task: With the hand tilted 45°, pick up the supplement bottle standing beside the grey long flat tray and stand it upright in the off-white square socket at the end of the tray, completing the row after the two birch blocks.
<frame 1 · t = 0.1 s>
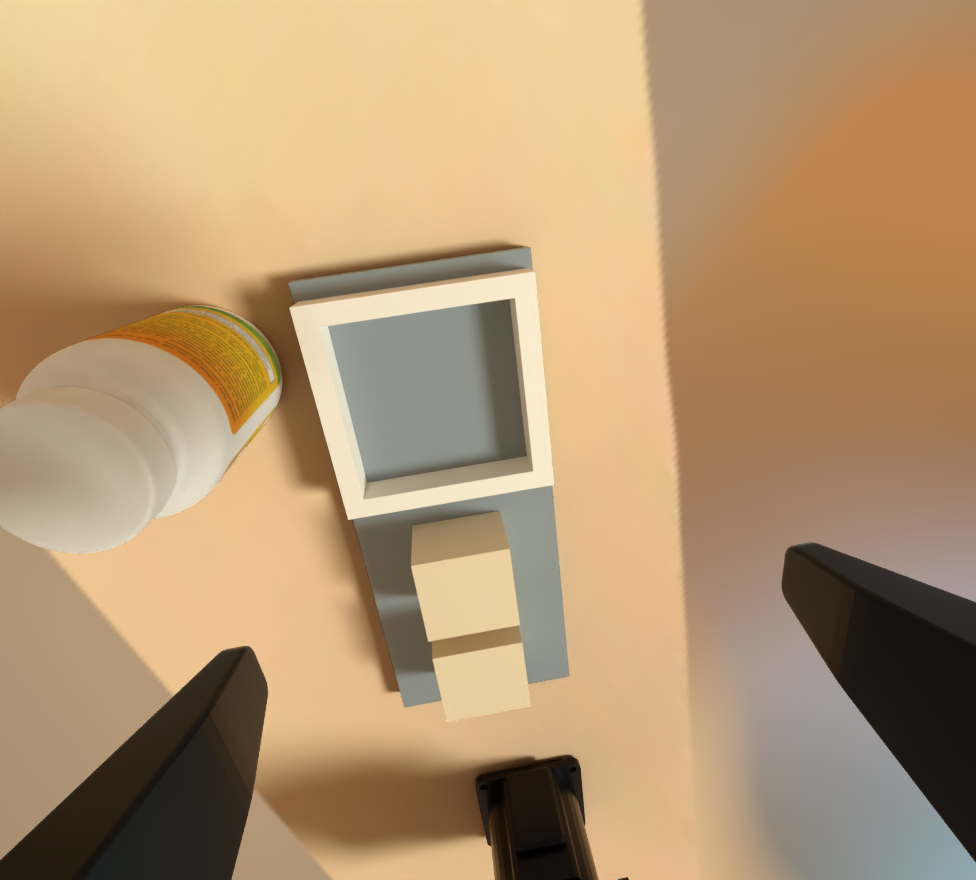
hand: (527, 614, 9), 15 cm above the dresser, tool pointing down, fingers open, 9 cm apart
supplement bottle: (217, 370, 21), on the dresser
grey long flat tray: (455, 507, 24), on the dresser
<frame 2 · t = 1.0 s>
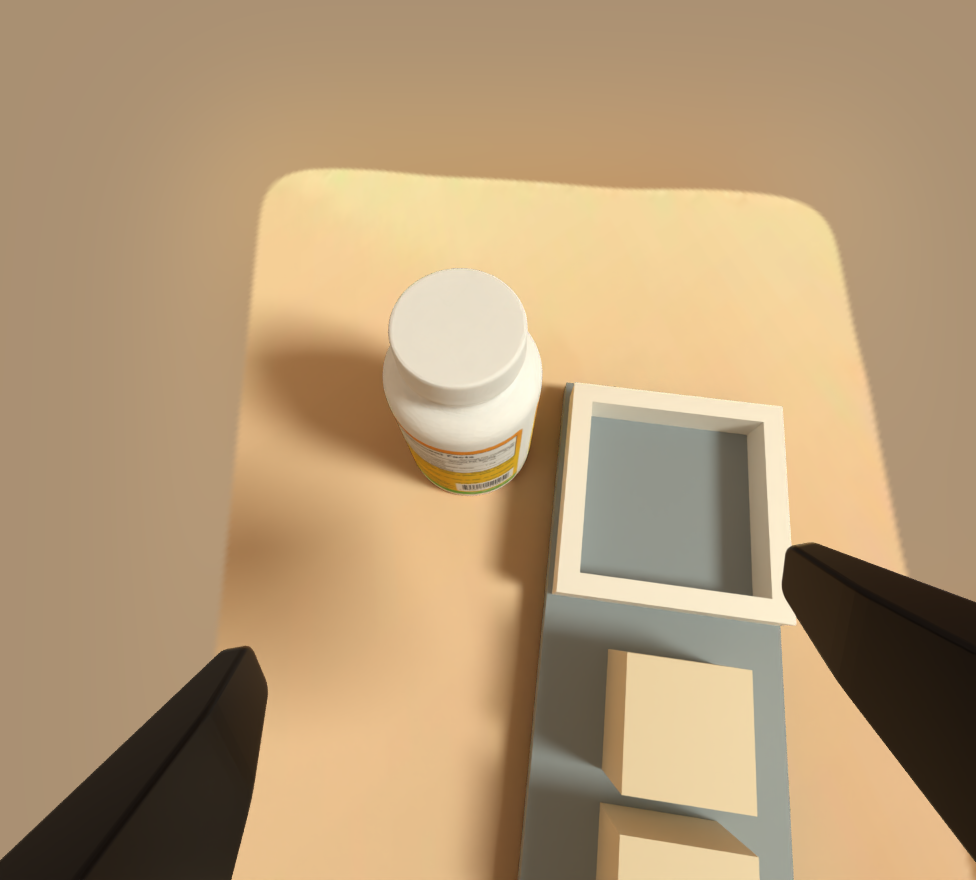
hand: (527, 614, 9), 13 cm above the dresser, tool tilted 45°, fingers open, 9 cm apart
supplement bottle: (471, 442, 24), on the dresser
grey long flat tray: (653, 655, 21), on the dresser
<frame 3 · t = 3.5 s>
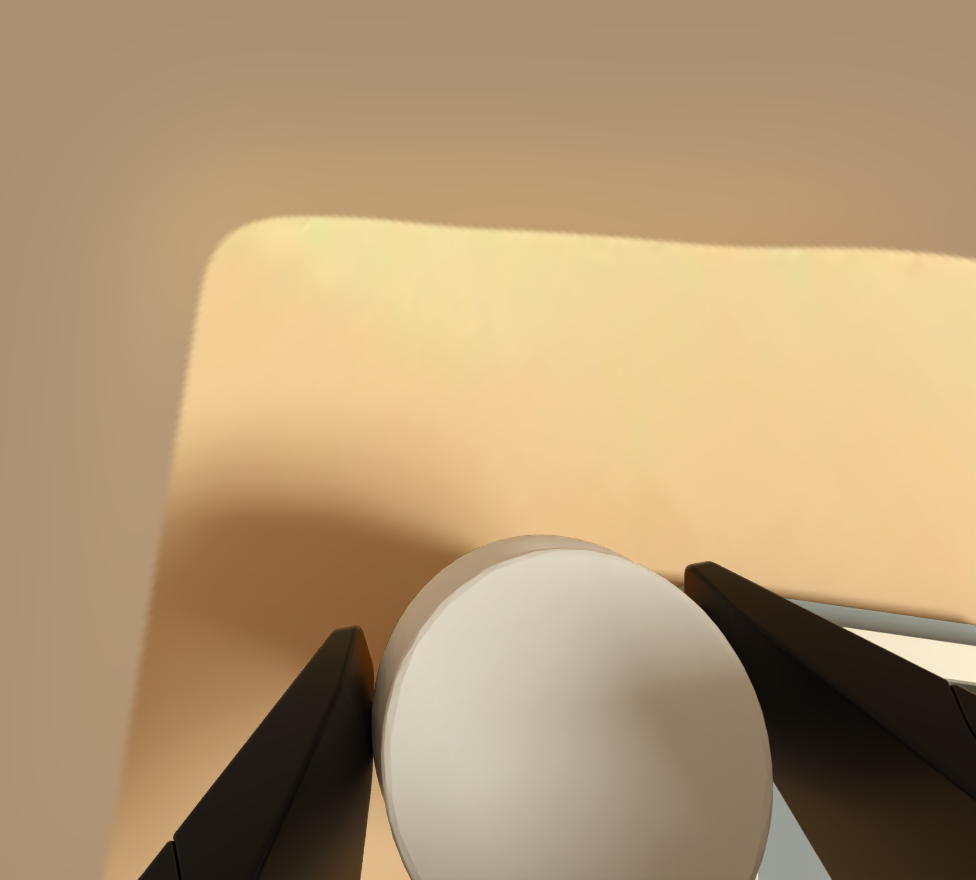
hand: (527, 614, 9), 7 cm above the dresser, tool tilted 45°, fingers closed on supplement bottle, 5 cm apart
supplement bottle: (523, 677, 14), on the dresser, touching gripper
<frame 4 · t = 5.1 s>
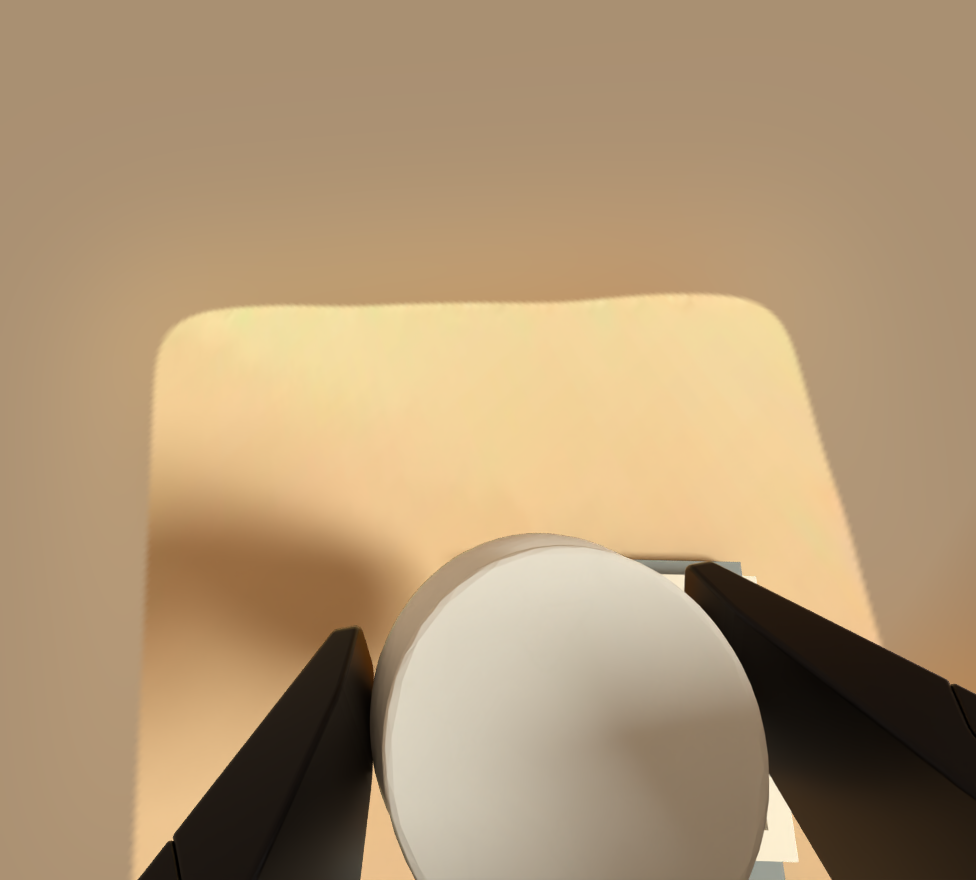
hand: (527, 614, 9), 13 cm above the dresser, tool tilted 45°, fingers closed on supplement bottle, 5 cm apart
supplement bottle: (519, 676, 15), point 6 cm above the dresser, touching gripper
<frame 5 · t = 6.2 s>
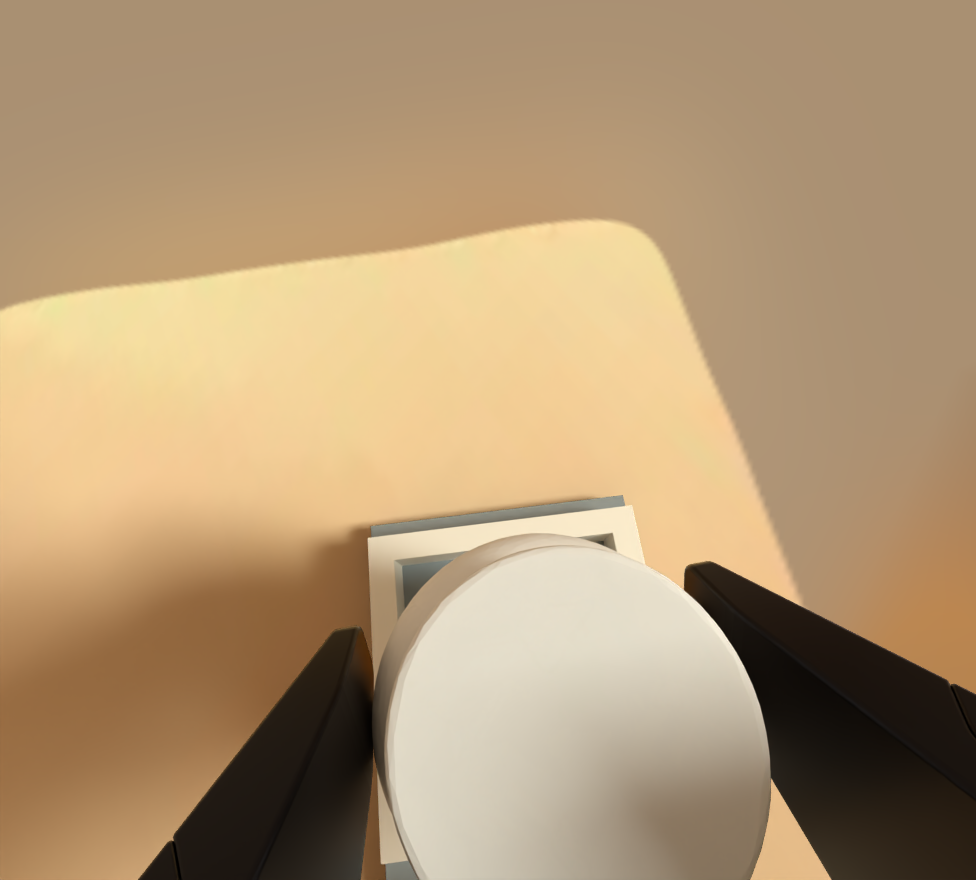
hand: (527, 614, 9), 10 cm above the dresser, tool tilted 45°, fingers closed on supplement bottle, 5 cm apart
supplement bottle: (521, 676, 15), point 3 cm above the dresser, touching gripper
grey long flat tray: (544, 878, 15), on the dresser
when the fingers open (10 cm above the dresser, at t = 7.0 s): supplement bottle drops 2 cm, resting on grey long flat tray.
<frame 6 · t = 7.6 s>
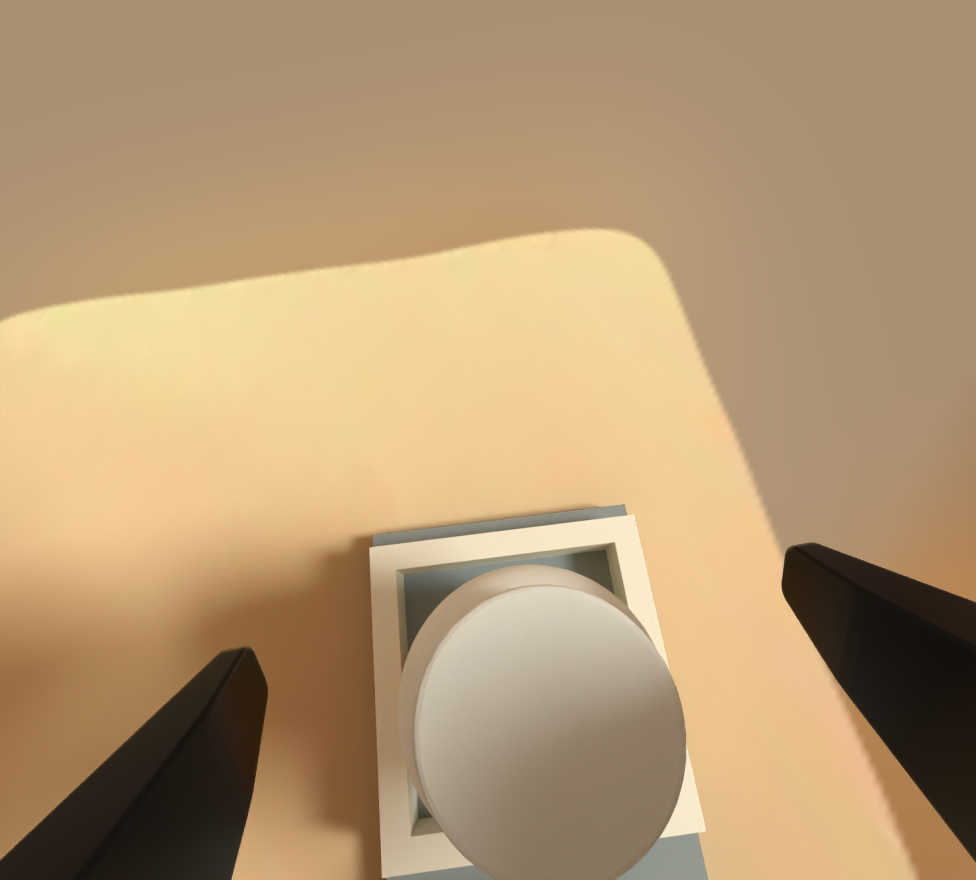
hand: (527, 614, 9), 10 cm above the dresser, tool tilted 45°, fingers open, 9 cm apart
supplement bottle: (519, 677, 17), point 1 cm above the dresser, touching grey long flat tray
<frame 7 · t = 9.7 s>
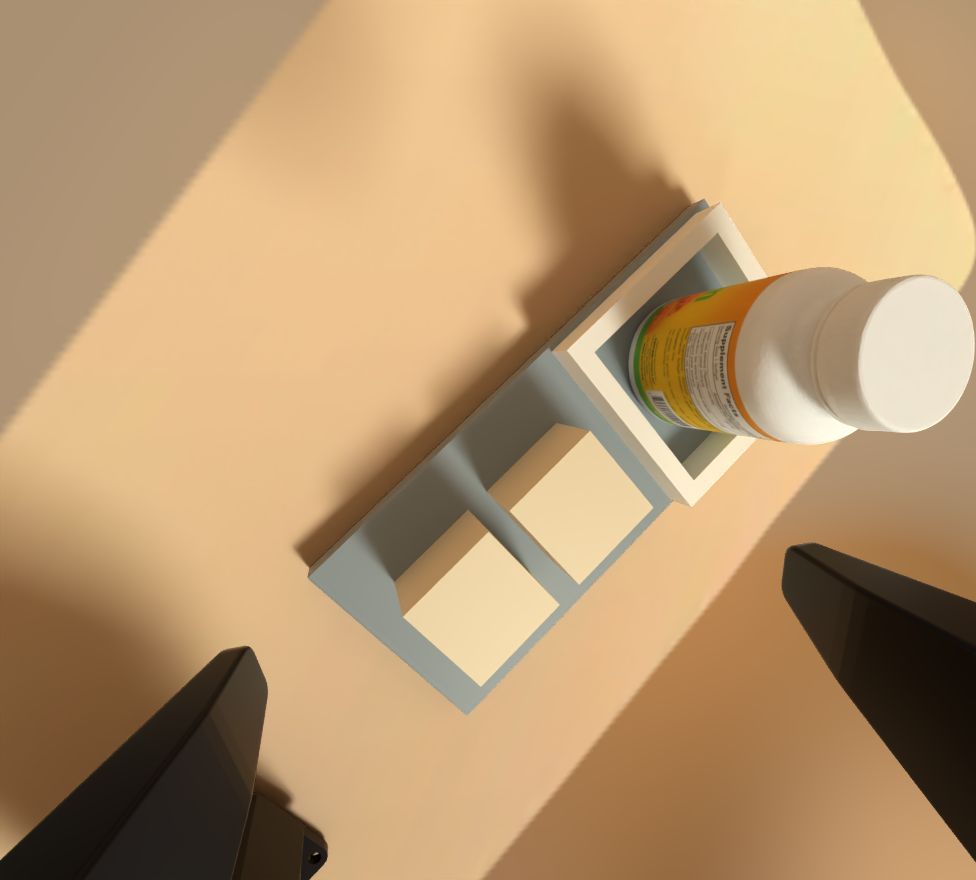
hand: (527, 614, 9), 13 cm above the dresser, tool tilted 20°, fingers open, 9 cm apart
supplement bottle: (677, 362, 23), point 1 cm above the dresser, touching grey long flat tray
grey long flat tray: (575, 453, 23), on the dresser
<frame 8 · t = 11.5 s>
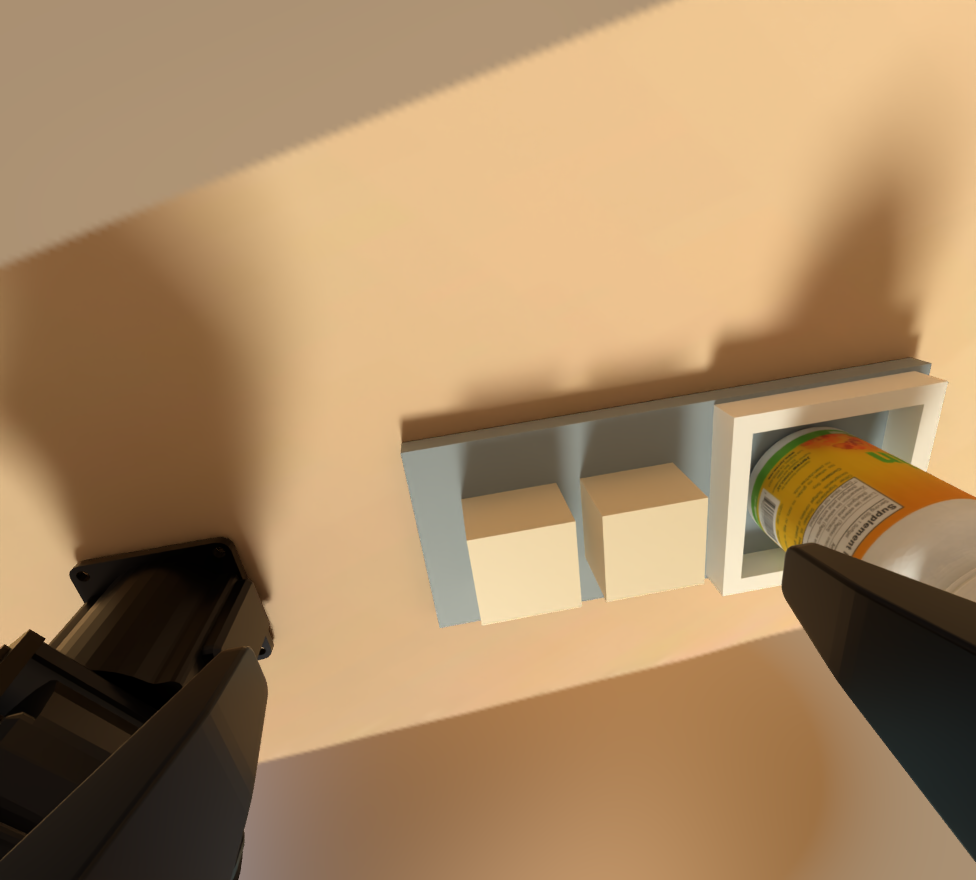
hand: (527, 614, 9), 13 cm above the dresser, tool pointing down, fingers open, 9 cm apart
supplement bottle: (797, 477, 23), point 1 cm above the dresser, touching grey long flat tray
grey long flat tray: (662, 492, 24), on the dresser
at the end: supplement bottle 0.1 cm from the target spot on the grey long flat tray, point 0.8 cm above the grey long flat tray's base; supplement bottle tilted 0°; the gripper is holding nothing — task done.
